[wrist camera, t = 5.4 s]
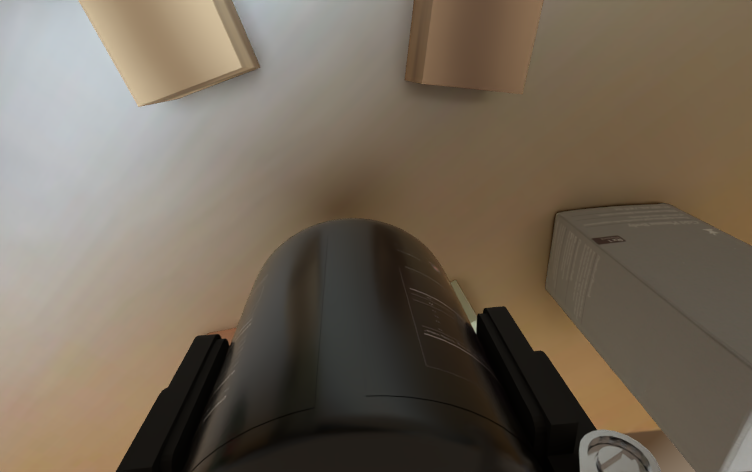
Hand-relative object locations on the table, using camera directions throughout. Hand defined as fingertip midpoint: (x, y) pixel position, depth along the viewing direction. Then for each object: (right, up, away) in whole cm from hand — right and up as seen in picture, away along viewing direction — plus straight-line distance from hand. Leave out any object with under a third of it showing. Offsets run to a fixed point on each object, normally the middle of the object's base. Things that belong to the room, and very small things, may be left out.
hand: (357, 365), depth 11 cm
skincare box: (+17, +3, +18) cm, 25 cm away
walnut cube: (+5, +15, +12) cm, 20 cm away
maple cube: (-9, +14, +10) cm, 20 cm away
